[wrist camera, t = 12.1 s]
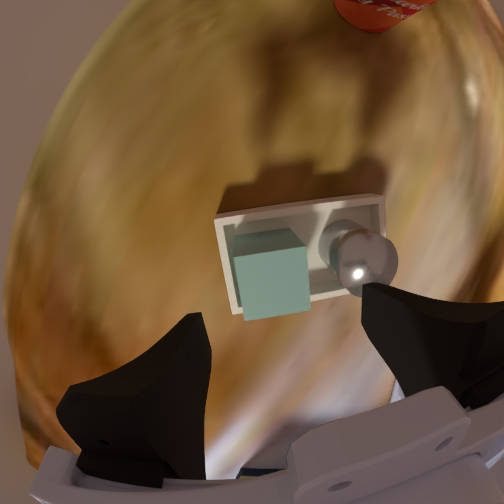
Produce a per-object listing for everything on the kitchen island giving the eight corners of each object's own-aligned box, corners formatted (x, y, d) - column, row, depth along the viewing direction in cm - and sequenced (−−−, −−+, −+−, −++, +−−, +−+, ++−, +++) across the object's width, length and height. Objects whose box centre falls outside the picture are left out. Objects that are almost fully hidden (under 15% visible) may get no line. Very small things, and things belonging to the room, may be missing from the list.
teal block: (289, 227, 20) (306, 246, 15) (294, 278, 21) (310, 310, 16) (234, 235, 20) (233, 257, 15) (242, 287, 21) (244, 320, 16)
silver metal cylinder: (364, 215, 20) (398, 230, 15) (366, 264, 21) (397, 289, 16) (315, 223, 20) (339, 241, 15) (320, 274, 21) (342, 303, 16)
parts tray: (370, 193, 20) (384, 196, 18) (373, 275, 22) (385, 285, 20) (216, 214, 20) (213, 219, 18) (232, 301, 22) (232, 314, 20)
